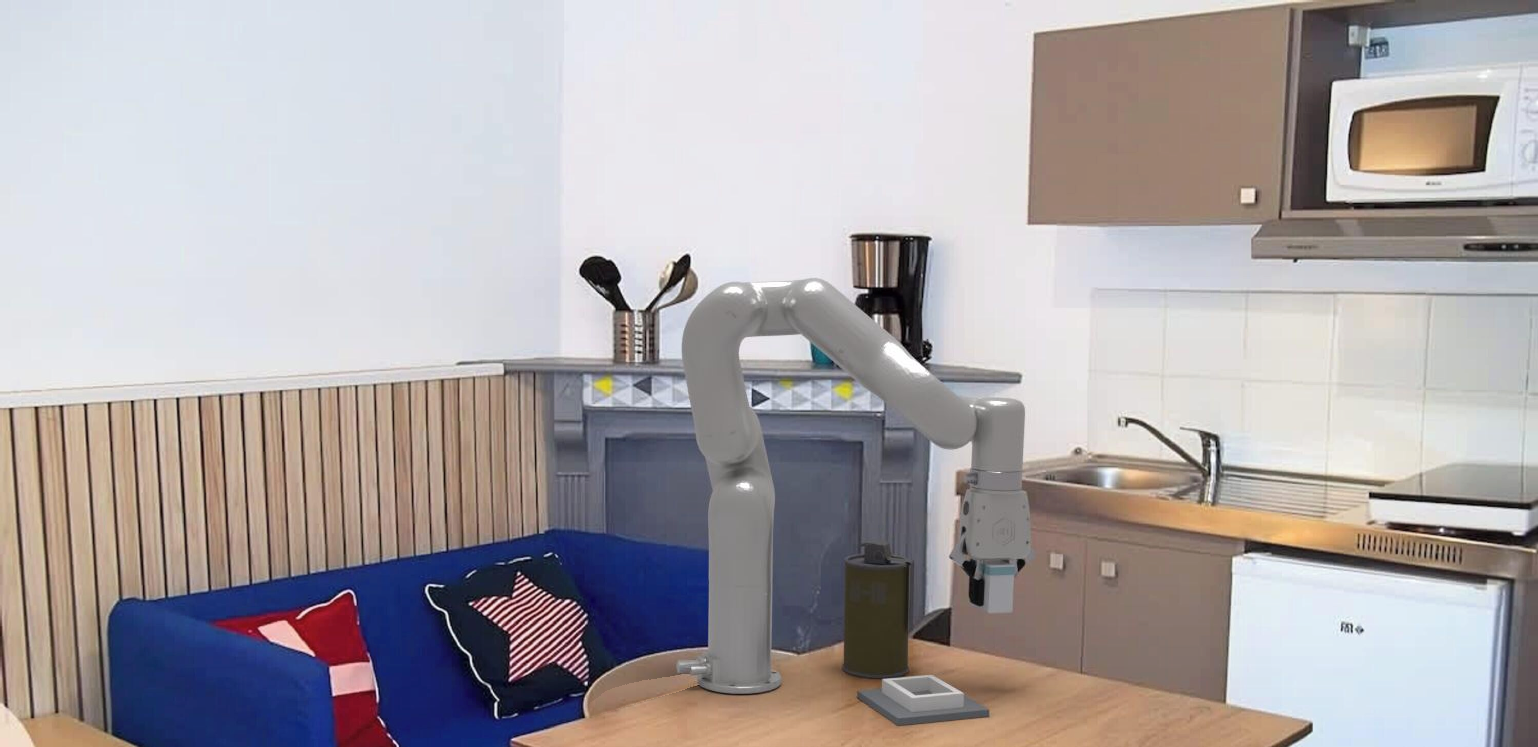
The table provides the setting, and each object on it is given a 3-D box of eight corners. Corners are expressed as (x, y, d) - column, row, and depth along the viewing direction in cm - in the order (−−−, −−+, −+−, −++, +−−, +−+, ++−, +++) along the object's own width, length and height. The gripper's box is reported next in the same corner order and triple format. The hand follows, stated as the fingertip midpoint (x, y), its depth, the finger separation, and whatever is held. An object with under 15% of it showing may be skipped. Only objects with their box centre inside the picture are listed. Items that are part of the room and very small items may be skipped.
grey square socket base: (898, 725, 193) (898, 703, 193) (857, 697, 207) (857, 676, 206) (989, 716, 198) (989, 695, 198) (943, 689, 211) (943, 669, 211)
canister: (832, 673, 219) (834, 545, 218) (854, 657, 229) (857, 534, 228) (900, 682, 215) (902, 551, 214) (919, 665, 225) (922, 540, 223)
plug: (988, 613, 208) (990, 565, 207) (968, 604, 213) (970, 557, 213) (1012, 612, 209) (1015, 565, 209) (992, 602, 215) (994, 557, 214)
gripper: (957, 485, 204) (951, 611, 205) (1058, 484, 209) (1052, 606, 210) (933, 478, 211) (928, 600, 212) (1032, 477, 216) (1026, 595, 217)
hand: (990, 602), depth 211 cm, fingers closed on plug, 4 cm apart
